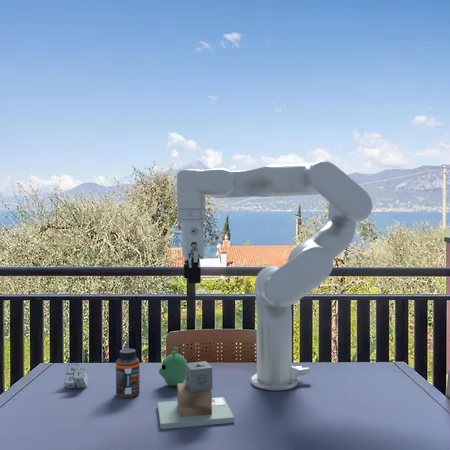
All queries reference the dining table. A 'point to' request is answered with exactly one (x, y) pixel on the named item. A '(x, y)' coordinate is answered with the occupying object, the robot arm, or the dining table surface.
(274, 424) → the dining table surface
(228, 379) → the dining table surface
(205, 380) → the dice cube
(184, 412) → the base brick
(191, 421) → the build board
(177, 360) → the alien toy
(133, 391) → the supplement bottle
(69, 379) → the building blocks
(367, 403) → the dining table surface
